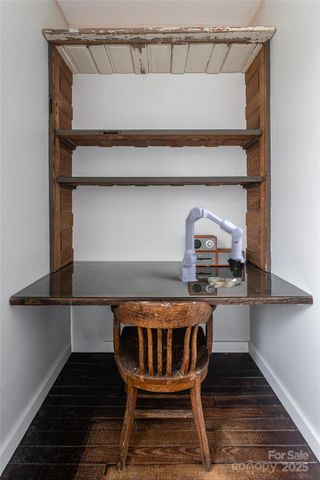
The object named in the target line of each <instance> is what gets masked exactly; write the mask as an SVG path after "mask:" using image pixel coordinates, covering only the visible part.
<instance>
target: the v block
mask: <svg viewBox="0 0 320 480" xmlns="http://www.w3.org/2000/svg"><path fill="white" fill-rule="evenodd" d="M221 279H225V278H224V277H223V278H222V276H216V277H215V276H212V277H207V283H209V280H221Z"/></svg>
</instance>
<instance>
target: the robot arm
mask: <svg viewBox="0 0 320 480" xmlns="http://www.w3.org/2000/svg"><path fill="white" fill-rule="evenodd" d="M200 219H209V220H211V222H214V223H215V224H217V225H218V226H219V228H220V229H221V230H222V231H224V232H225V233H226V234H228V235H230V236H231V252H230V253H231V254H229V255H228V259H227V263H228V265H229V270H230V273H232V272H233V273H235V271H236V274H237V276H239V275H242V274H243V270H244V268H245V265H246V264H247V262H245V258H244V257H243V255H242V254H243V237H242V236H243V235H244V231H243V229H242V228H241V227H238V225H236V224H233V223H232V222H231V221H230V220H229V219H228V220H227V219H224V220H223V219H222V218H220V217H218V216H217V215H216V214H214V213H212V212H211V211H210V210H208V209H206V208H204V207H201V206H200V207H198V206H197V207H195V206H194V207H193V208H192V209H191V210H190V211H189V213H188V215H187V216H186V219H185V251H184V255H183V258H182V263H183V265H181V266H179V275H178V276H179V277H178V280H180V281H181V282H182V283H186V282H189V283H190V282H198V281H199V279H197V278H196V277H197V275H196V273H197V272H196V271H197V270H196V269H197V268H196V267H197V264H196V262H197V260H198V258H197V254H196V250H195V223H196V222H197V221H199V220H200Z"/></svg>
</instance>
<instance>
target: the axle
mask: <svg viewBox="0 0 320 480" xmlns="http://www.w3.org/2000/svg"><path fill="white" fill-rule="evenodd" d="M242 280H243V279H242V277H229V278H228V277H226V278H224V282H233V281H234V282H235V286H239V285H240V286H241V285H242V284H243V281H242Z"/></svg>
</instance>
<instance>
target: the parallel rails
mask: <svg viewBox="0 0 320 480" xmlns="http://www.w3.org/2000/svg"><path fill="white" fill-rule="evenodd" d="M224 279H225V278H224ZM224 279H221V280H209V282H208V285H209V286H213V288H216V289H217V288H228V287H229V288H231V287H232V286H233V287H235V286H236V285H235V282H234V281H233V282H224Z"/></svg>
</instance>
